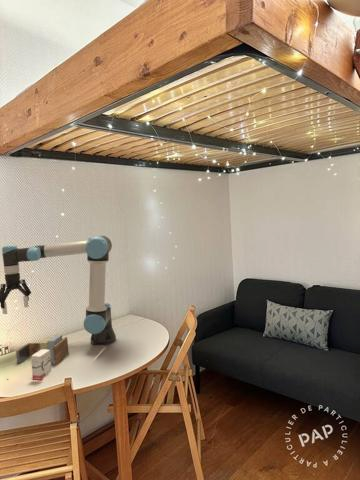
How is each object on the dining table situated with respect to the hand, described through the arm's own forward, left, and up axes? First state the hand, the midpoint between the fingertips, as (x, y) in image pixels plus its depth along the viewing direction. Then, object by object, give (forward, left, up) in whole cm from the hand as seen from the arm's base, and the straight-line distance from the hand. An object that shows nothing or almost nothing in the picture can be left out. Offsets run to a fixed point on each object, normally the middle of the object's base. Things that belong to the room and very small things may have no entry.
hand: (16, 310), depth 186 cm
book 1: (-23, +10, -25) cm, 35 cm away
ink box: (-28, +25, -26) cm, 46 cm away
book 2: (-27, +10, -25) cm, 38 cm away
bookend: (-8, +10, -25) cm, 28 cm away
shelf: (-19, +9, -26) cm, 33 cm away
